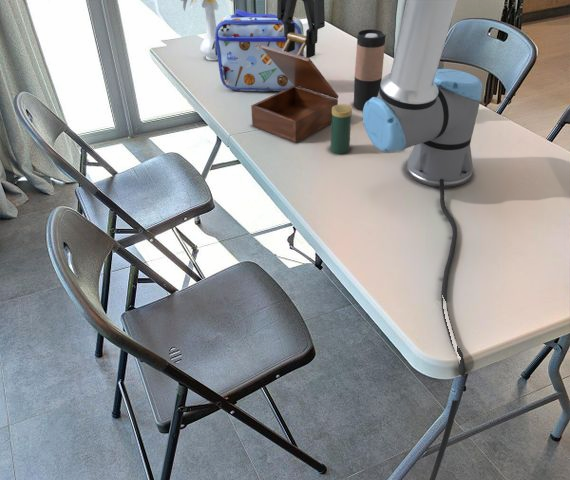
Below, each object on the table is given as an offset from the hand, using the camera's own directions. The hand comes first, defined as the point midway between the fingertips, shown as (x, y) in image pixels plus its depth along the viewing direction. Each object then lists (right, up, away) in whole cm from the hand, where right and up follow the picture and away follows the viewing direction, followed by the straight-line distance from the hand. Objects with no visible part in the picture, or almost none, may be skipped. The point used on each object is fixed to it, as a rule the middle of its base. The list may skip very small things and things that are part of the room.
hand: (300, 53), depth 140 cm
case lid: (0, -4, +3) cm, 5 cm away
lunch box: (-12, +2, +30) cm, 32 cm away
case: (-1, -15, +11) cm, 18 cm away
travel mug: (+20, -8, +18) cm, 28 cm away
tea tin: (+10, -25, -1) cm, 27 cm away
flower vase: (-29, +20, +50) cm, 61 cm away
